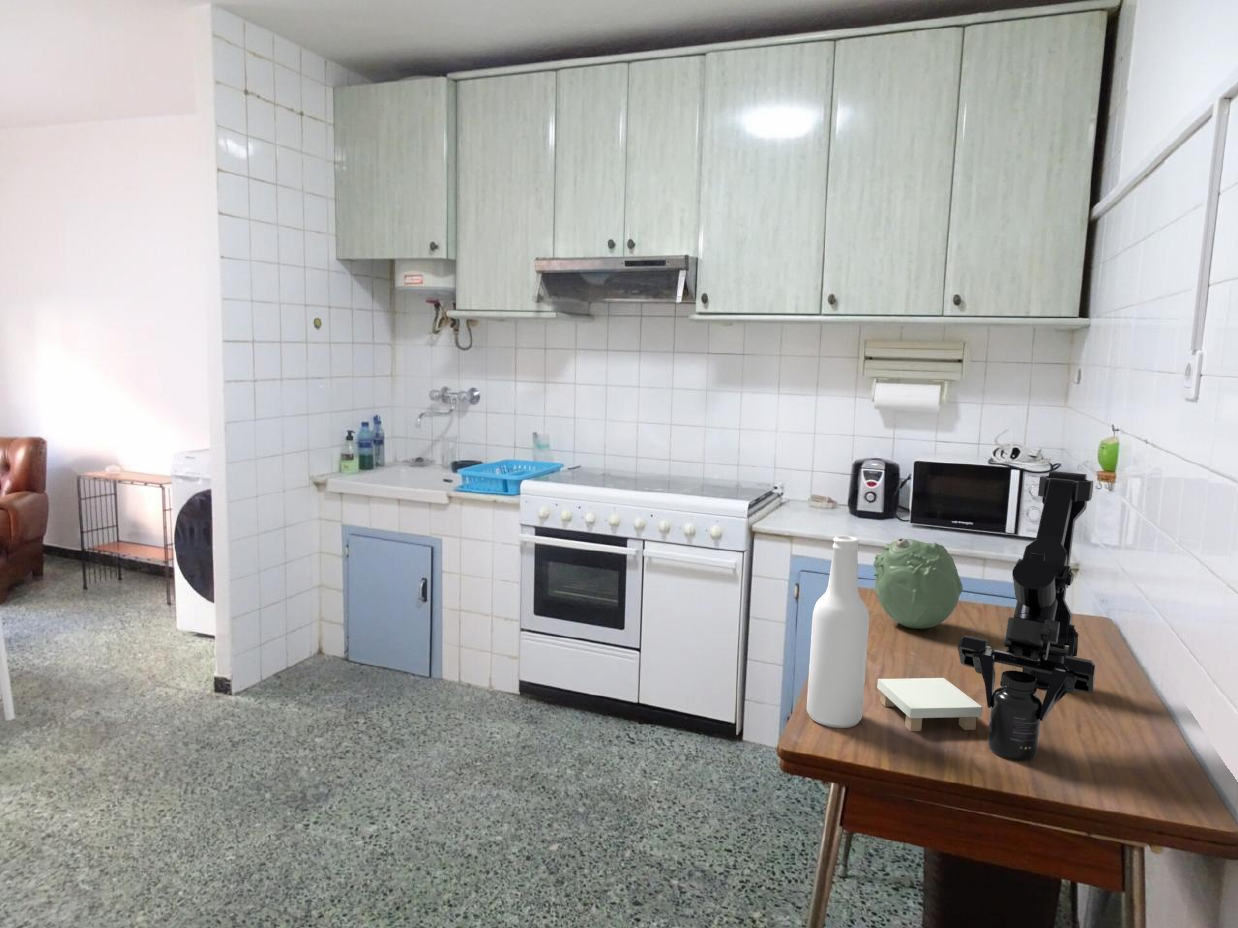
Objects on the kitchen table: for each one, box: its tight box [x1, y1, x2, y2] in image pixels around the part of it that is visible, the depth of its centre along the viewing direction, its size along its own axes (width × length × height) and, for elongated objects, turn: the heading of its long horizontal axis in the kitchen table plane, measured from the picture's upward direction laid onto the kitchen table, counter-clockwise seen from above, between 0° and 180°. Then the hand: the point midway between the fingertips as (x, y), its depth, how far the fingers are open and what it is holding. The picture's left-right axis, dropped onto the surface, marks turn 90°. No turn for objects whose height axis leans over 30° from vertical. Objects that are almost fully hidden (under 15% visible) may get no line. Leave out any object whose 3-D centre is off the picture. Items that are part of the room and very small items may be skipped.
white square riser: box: [876, 677, 983, 732], centre depth 136 cm, size 12×12×4 cm
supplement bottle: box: [987, 670, 1043, 762], centre depth 123 cm, size 7×7×12 cm
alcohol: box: [806, 535, 870, 729], centre depth 132 cm, size 9×9×30 cm
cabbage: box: [872, 538, 964, 630], centre depth 181 cm, size 16×19×20 cm
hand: (1014, 712), depth 122 cm, fingers closed on supplement bottle, 7 cm apart
